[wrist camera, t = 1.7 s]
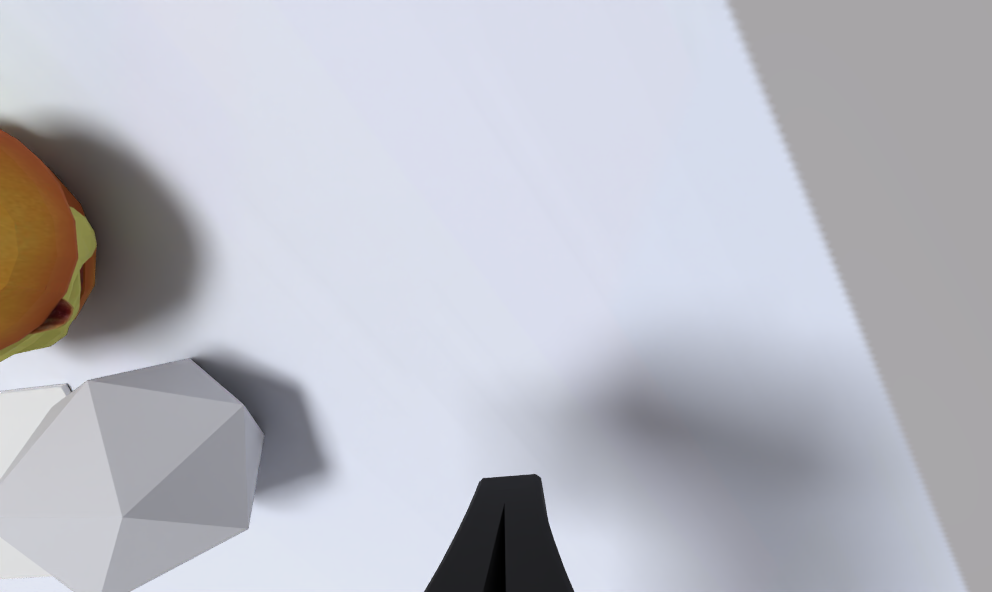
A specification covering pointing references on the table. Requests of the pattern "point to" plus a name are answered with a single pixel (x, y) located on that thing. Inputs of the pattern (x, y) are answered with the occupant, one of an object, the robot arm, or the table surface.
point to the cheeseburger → (39, 252)
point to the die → (132, 478)
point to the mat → (3, 433)
